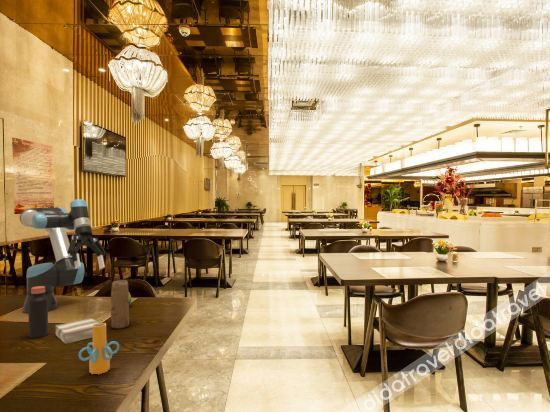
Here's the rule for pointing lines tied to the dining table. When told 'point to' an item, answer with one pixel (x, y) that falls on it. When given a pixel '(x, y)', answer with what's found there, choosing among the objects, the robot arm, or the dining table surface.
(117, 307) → the brown river rock
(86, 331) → the platform
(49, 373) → the dining table surface
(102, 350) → the orange vase with handles
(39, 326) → the bottle
